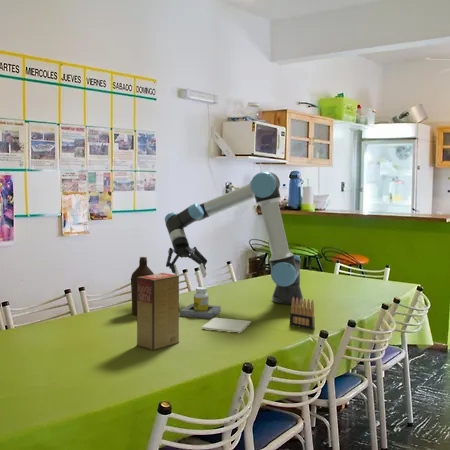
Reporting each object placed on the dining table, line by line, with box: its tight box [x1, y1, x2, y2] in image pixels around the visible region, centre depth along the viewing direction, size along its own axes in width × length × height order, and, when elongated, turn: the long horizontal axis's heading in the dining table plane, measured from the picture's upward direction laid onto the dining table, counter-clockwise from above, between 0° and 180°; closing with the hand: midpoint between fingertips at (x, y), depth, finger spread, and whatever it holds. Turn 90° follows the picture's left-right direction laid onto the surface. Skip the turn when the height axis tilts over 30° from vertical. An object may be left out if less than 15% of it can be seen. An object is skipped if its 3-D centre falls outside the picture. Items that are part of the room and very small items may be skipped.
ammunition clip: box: [289, 297, 316, 330], centre depth 230 cm, size 11×2×12 cm, turn 54°
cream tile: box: [201, 317, 252, 334], centre depth 229 cm, size 16×16×1 cm
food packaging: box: [136, 272, 180, 351], centre depth 202 cm, size 13×9×25 cm
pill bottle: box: [193, 286, 209, 311], centre depth 249 cm, size 6×6×12 cm
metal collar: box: [179, 303, 222, 320], centre depth 249 cm, size 14×14×2 cm
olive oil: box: [130, 256, 155, 316], centre depth 247 cm, size 11×11×25 cm
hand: (191, 277), depth 257 cm, fingers open, 13 cm apart
